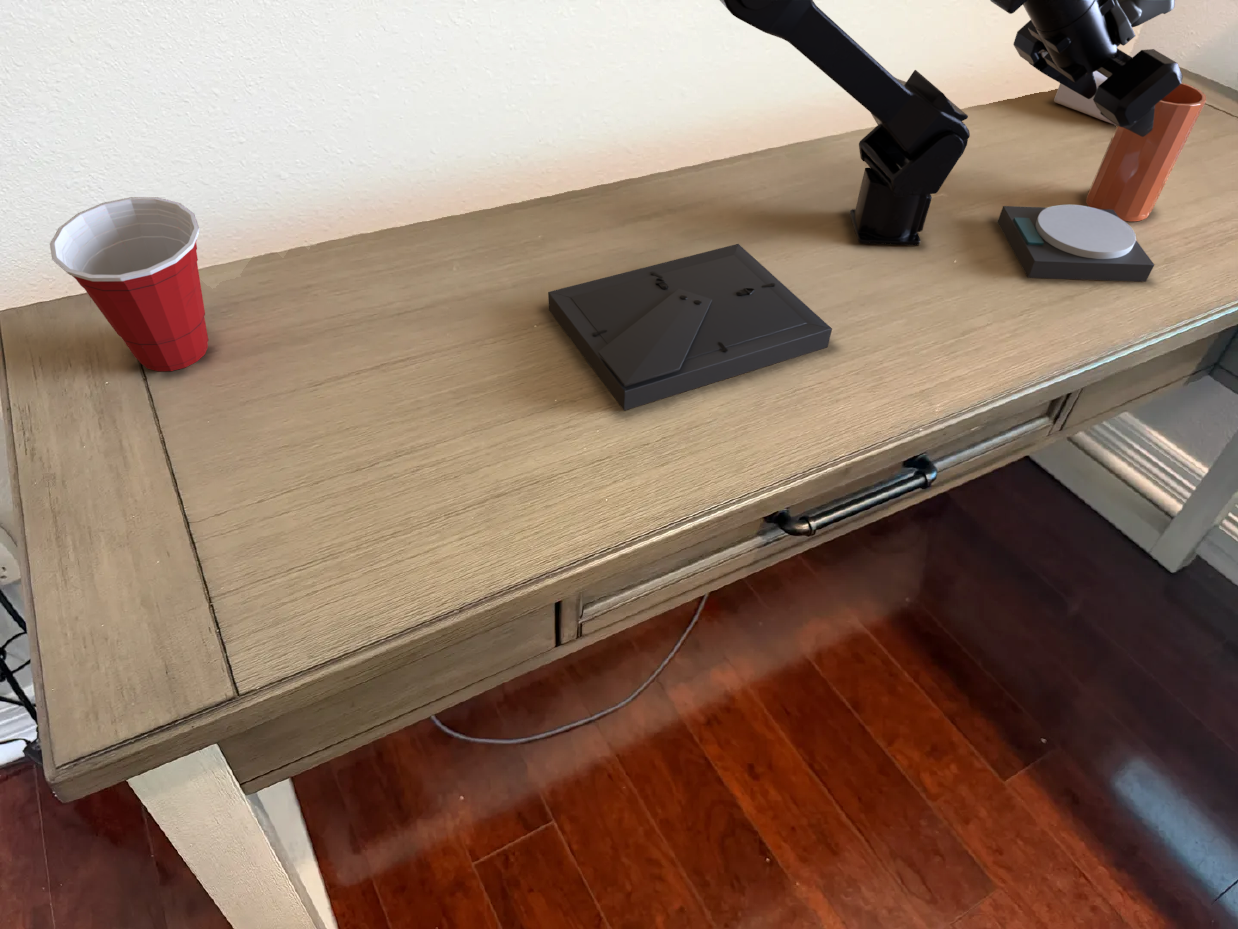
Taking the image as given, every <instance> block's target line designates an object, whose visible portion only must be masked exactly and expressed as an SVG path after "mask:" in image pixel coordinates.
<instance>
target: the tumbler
mask: <svg viewBox="0 0 1238 929" xmlns="http://www.w3.org/2000/svg"><path fill="white" fill-rule="evenodd" d="M1206 102H1207V95H1206V94H1205V93H1204V92H1203V91H1202V90H1201V89H1199V88H1197V87H1195V86H1192V85H1191V84H1187V83H1184V82H1182V83H1181V84H1180V85H1179V86H1178V87H1177V88H1175V89H1174V90H1173V91H1172V92H1170V93H1169V94H1168V95H1167V96H1165V97H1164V98H1163V99H1162V100H1161V101H1159V102H1158V103H1157V104H1156V105H1155V111H1154V122H1153V129H1152V131H1151V132H1149V133H1148V134H1147V135H1146V136H1144V137H1141V136H1139V135H1137V134H1135V133H1133V132H1131V131H1129V130H1127V129H1125V128H1123V127H1120V126H1117V125H1116V127H1115V129H1114V132H1113V134H1112V136H1111V138H1110V141H1109V143H1108V146H1107V147H1106V150H1105V153H1104V154H1103V156H1102V160H1101V161H1100V164H1099V166H1098V169H1097V171H1096V174H1095V176H1094V178H1093V181H1092V182H1091V185H1090V188H1089V190H1088V193H1087V195H1086V198H1085V202H1086V206H1088V207H1092V208H1096V209H1111V210H1114V211H1115V213H1116V214H1117V215H1118V217H1119V218H1120V219H1122V220H1123V221H1124V222H1139V221H1143V220H1147V218H1149V216H1150V215H1151V212H1152V211H1153V209H1154V208H1155V205H1156V204H1157V202H1158V200H1159V198H1160V195H1161V193H1162V192H1163V189H1164V188H1165V186H1166V183H1167V181H1168V179H1169V178H1170V175H1171V173H1172V171H1173V169H1174V168H1175V165H1176V163H1177V161H1178V159H1179V157H1180V155H1181V154H1182V151H1183V149H1184V147H1185V144H1186V143H1187V141H1188V138H1189V136H1190V134H1191V132H1192V130H1193V129H1194V126H1195V125H1196V123H1197V120H1198V118H1199V116H1200V114H1201V112H1202V110H1203V108H1204V106H1205V104H1206Z"/></svg>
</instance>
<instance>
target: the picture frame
mask: <svg viewBox="0 0 1238 929" xmlns="http://www.w3.org/2000/svg"><path fill="white" fill-rule="evenodd" d="M547 298H548V299H547V302H548V303H547V304H548V312H549V313H550V314H551V315H552V317H553V318H554V319H555V321H556V322H557V323H558V325H559V326H560V328H561V329H562V331H563V332H564V333H565V335H566V336H568V338H569V340H570V341H571V342H572V343H573V345H574V346H575V348H576V349H577V350H578V351H579V353H580V354H581V356H582V357H583V358H584V359H585V361H586V362H587V363H588V364H589V366H590V367H591V369H592V370H593V372H594V373H595V374H596V375H597V377H598V378H599V379H600V381H601V383H603V385H604V386H605V387H606V389H607V390H608V392H609V393H610V394H611V395H612V397H613V398H614V399H615V401H616V402H617V403H618V405H619V406H620V408H621V409H622V410H623V412H624V411H628V410H632V409H634V408H638V407H640V406H643V405H648V404H651V403H654V402H656V401H657V402H658V401H660V400H663V399H666V398H670V397H672V396H675V395H676V396H677V395H679V394H683V393H686V392H688V391H692V390H695V389H698V388H701V387H705V386H708V385H711V384H715V383H718V382H721V381H725V380H727V379H728V380H729V379H730V378H733V377H737V376H740V375H744V374H747V373H749V372H753V371H756V370H759V369H762V368H766V367H769V366H772V365H775V364H778V363H781V362H785V361H788V360H792V359H794V358H798V357H801V356H804V355H807V354H811V353H814V352H817V351H820V350H824V349H826V348H828V347H829V343H830V339H831V335H832V330H833V328H832V327H831V326H830V325H829V324H827V323H826V322H825V321H824V320H823V319H822V318H821V317H820V316H819V315H818V314H817V313H816V312H815V311H813V310H812V309H811V308H810V307H809V306H808V305H807V304H805V302H804V301H802V300H801V299H800V298H799V297H798V296H797V295H796V294H795V293H793V291H792V290H790V289H789V288H788V287H787V286H786V285H784V284H783V283H782V282H781V281H780V279H778V278H777V277H776V276H775V275H774V274H772V273H771V272H770V271H769V270H768V269H767V268H766V267H765V266H764V265H763V264H762V263H761V262H759V261H758V260H757V259H756V258H755V257H754V256H753V255H751V253H749V252H748V251H747V250H746V249H745V248H744V247H743V246H742V245H740V244H739V243H736V244H731V245H728V246H724V247H719V248H716V249H712V250H708V251H704V252H700V253H695V254H692V255H687V256H684V257H680V258H676V259H671V260H668V261H664V262H661V263H660V262H659V263H655V264H652V265H649V266H644V267H640V268H637V269H633V270H629V271H625V272H620V273H616V274H612V275H609V276H605V277H600V278H598V279H593V280H590V281H586V282H582V283H581V282H580V283H577V284H574V285H569V286H566V287H561V288H558V289H554V290H550V291H548V292H547Z"/></svg>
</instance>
